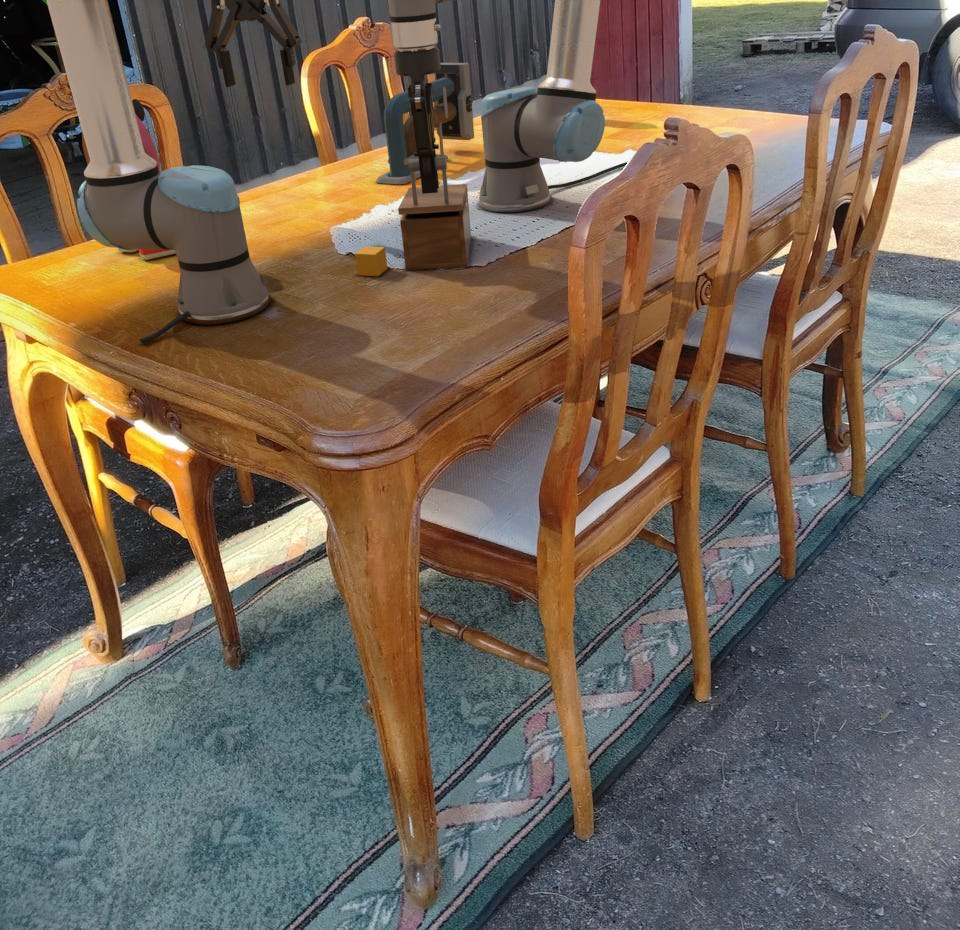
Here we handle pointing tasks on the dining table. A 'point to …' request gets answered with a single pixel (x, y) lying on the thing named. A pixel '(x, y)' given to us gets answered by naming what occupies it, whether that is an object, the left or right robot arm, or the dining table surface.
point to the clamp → (447, 117)
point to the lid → (432, 202)
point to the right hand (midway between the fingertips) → (430, 190)
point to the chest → (436, 239)
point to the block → (371, 261)
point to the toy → (152, 152)
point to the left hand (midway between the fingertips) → (260, 85)
